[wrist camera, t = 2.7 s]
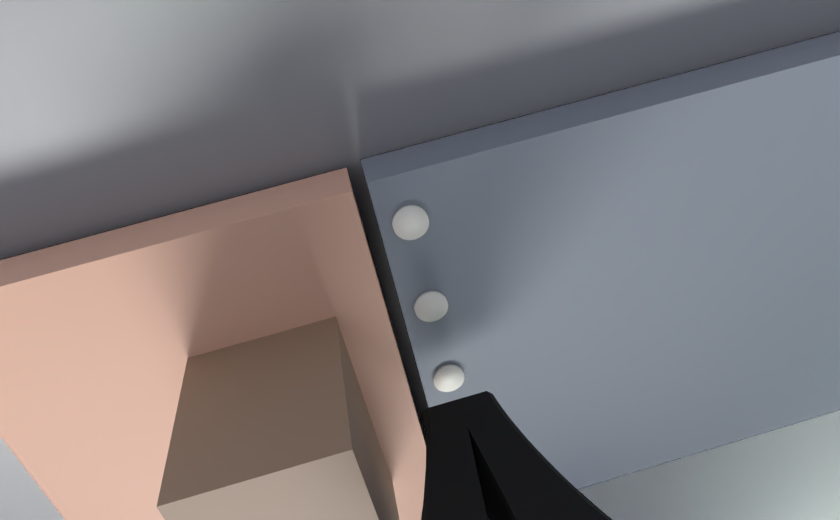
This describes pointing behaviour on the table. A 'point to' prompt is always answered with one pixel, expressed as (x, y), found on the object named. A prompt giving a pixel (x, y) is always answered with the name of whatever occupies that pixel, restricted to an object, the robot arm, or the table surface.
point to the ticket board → (632, 261)
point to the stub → (213, 367)
